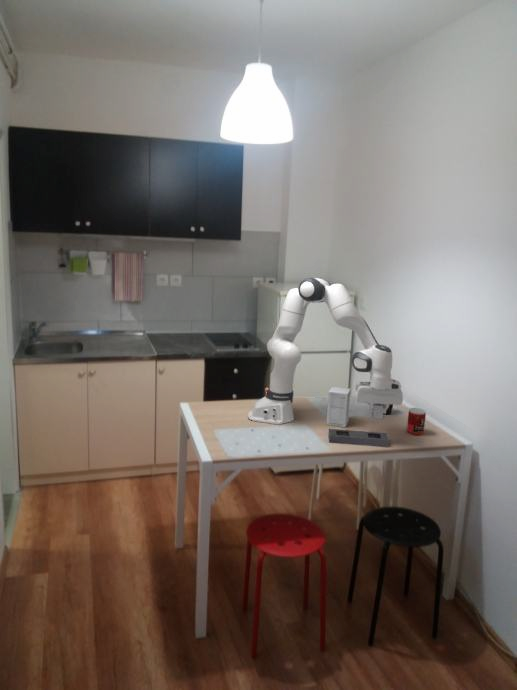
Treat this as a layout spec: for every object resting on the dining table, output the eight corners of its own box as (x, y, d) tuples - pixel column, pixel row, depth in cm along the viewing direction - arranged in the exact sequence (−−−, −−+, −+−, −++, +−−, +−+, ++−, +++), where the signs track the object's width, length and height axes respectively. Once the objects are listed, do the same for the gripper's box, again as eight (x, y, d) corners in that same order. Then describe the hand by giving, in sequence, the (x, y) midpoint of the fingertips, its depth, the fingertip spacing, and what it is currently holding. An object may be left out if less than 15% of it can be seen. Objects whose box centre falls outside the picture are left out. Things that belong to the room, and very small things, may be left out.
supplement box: (348, 421, 280) (351, 388, 276) (345, 427, 271) (348, 393, 268) (329, 418, 283) (332, 385, 279) (325, 424, 274) (328, 391, 270)
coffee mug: (395, 412, 296) (397, 394, 294) (389, 417, 289) (391, 398, 287) (374, 407, 302) (376, 389, 300) (368, 412, 295) (370, 393, 293)
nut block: (373, 418, 252) (374, 404, 250) (372, 415, 256) (373, 401, 254) (382, 419, 251) (383, 405, 250) (381, 415, 255) (382, 402, 254)
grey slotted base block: (328, 442, 253) (329, 436, 252) (328, 434, 261) (328, 428, 261) (388, 447, 251) (389, 440, 250) (385, 439, 260) (386, 433, 259)
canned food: (414, 436, 265) (417, 414, 262) (402, 430, 271) (405, 408, 269) (427, 434, 268) (429, 412, 266) (415, 428, 275) (417, 406, 272)
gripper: (356, 383, 247) (354, 413, 251) (404, 385, 246) (402, 416, 249) (355, 379, 254) (353, 409, 257) (402, 381, 252) (399, 411, 255)
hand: (377, 412), depth 253 cm, fingers closed on nut block, 4 cm apart
